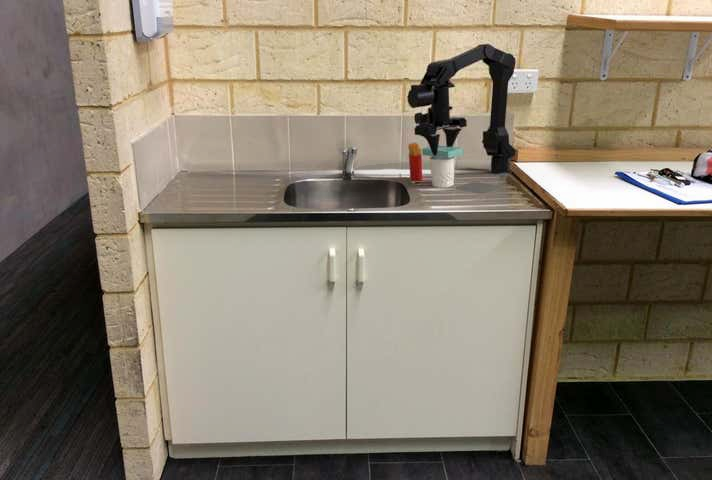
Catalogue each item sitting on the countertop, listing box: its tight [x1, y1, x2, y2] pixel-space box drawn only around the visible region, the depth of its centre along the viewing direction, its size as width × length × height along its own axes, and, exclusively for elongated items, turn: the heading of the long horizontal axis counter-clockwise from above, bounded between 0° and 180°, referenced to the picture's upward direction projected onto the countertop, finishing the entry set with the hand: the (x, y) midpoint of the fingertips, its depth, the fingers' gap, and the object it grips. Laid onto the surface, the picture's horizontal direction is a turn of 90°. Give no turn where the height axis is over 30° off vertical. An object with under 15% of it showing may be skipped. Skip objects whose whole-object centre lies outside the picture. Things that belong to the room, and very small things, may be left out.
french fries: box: [407, 142, 423, 183], centre depth 207 cm, size 9×4×13 cm, turn 175°
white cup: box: [429, 156, 455, 188], centre depth 196 cm, size 8×8×10 cm
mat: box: [453, 181, 505, 195], centre depth 191 cm, size 10×12×1 cm
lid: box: [421, 144, 463, 158], centre depth 194 cm, size 6×11×2 cm, turn 41°
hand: (442, 153), depth 194 cm, fingers closed on lid, 6 cm apart
